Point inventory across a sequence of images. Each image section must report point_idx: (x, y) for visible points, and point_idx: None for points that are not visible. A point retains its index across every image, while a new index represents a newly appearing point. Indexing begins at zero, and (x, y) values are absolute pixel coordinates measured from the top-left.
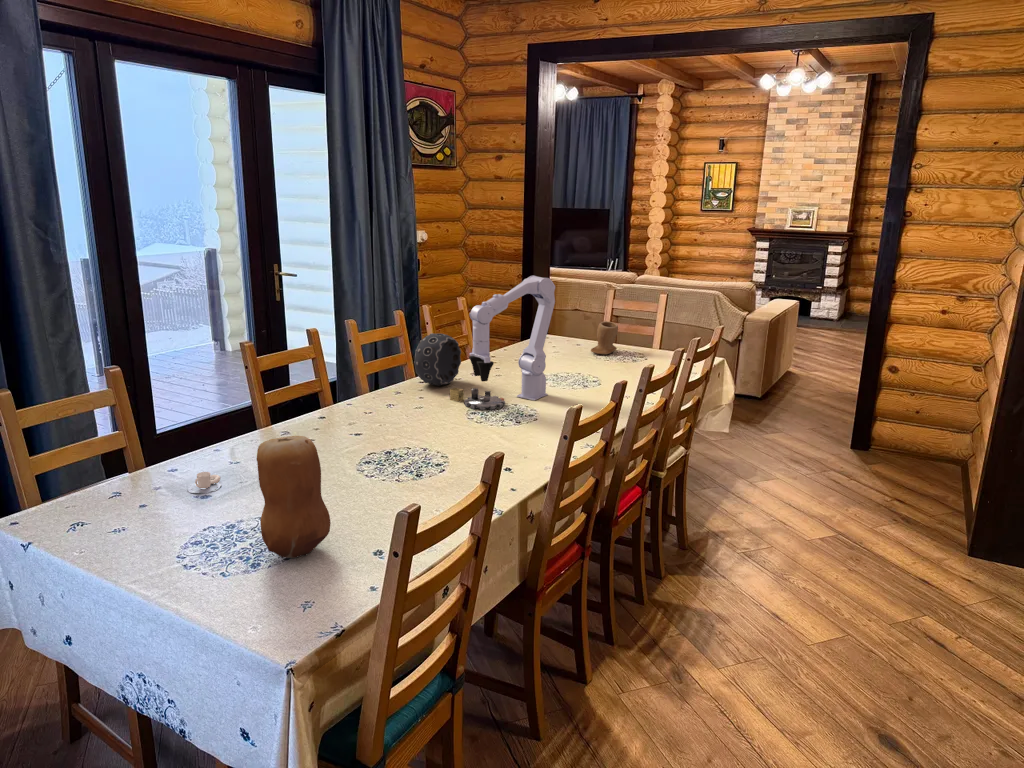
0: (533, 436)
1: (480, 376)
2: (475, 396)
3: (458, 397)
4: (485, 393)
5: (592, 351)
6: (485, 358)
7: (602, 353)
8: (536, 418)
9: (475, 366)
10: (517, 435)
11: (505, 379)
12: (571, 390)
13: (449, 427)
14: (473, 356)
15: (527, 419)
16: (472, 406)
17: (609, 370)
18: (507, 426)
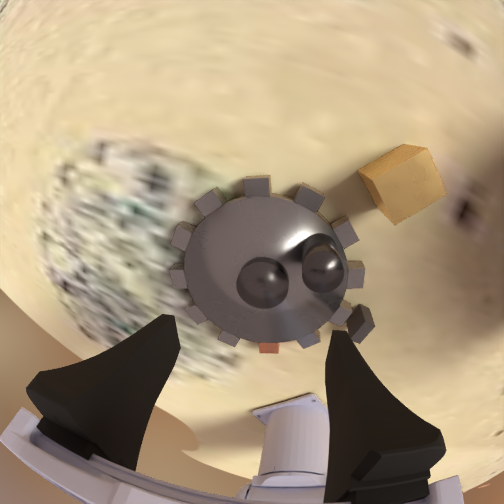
0: (5, 270)
1: (152, 330)
2: (302, 253)
3: (363, 173)
4: (362, 318)
5: None
6: (4, 434)
7: None
8: (95, 340)
9: (343, 396)
10: (4, 242)
11: (477, 399)
12: None
13: (49, 72)
14: (394, 475)
15: (86, 318)
16: (205, 195)
17: None
18: (39, 245)
